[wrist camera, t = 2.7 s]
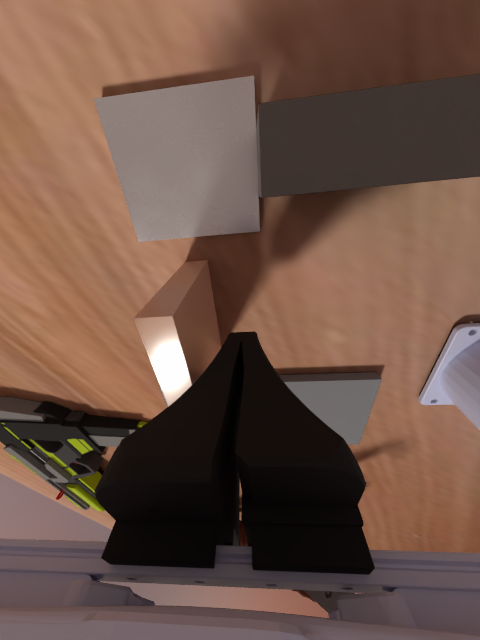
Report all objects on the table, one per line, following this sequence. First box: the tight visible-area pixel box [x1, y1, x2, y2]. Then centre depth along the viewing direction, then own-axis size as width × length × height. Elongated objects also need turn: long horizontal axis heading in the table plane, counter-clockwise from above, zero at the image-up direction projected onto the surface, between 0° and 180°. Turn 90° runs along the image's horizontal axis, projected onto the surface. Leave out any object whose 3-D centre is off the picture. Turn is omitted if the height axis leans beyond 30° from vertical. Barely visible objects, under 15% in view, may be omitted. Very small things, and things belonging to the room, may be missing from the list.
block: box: [134, 260, 222, 407], centre depth 12 cm, size 2×7×7 cm, turn 4°
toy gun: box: [0, 396, 148, 511], centre depth 24 cm, size 20×4×15 cm
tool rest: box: [159, 372, 382, 444], centre depth 20 cm, size 18×9×1 cm, turn 95°
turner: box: [94, 74, 480, 242], centre depth 9 cm, size 15×6×4 cm, turn 95°
